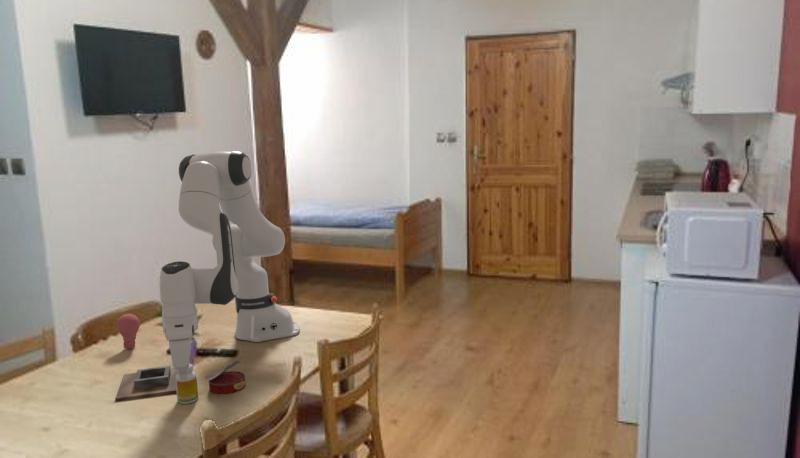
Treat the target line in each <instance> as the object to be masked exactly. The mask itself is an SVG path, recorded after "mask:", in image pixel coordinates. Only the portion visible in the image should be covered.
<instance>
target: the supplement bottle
mask: <svg viewBox="0 0 800 458" xmlns="http://www.w3.org/2000/svg"><path fill="white" fill-rule="evenodd" d="M177 371H178V369H177ZM198 388H199V387H198V379H197V373H196V371H194V365H193V364H192V363H189V367H188V368H187V380H186V381H180V375H179V371H178V374H177V375H176V390H177V393H176V397H177V398H176V399H177V403H179V404H183V405H186V404H187V405H188V404H192V403H195V402H197V400H199V391H198Z"/></svg>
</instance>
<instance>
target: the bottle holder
mask: <svg viewBox="0 0 800 458" xmlns="http://www.w3.org/2000/svg"><path fill="white" fill-rule="evenodd" d="M177 374H178V371H177V370H176V369H174V367H172V368H171V365H164V366H156V367H149V368H140V369H137V371H136V372H132V373H124V374H123V375H122V378H121V381H120V384H119V387H118V390H117V392H116V396H115V402H120V401H121V402H122V401H128V400H133V399H134V400H135V399H142V398H148V397H150V398H151V397H156V396H157V397H158V396H164V395H166V396H167V395H171V394H173V395H174V394H177V390H176V375H177Z"/></svg>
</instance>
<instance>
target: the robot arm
mask: <svg viewBox="0 0 800 458" xmlns="http://www.w3.org/2000/svg"><path fill="white" fill-rule="evenodd" d="M178 176H179V179H180V181H181V185H180V191H179V198H178V212H179V216H180V218H181V219H182V220H183V221H184V223H186V224H187V225H188V226H190V227H192V228H193V229H196V230H198V231H201V232H203V233H207V234H209V235H211V236H212V241H211V242H212V246H213V248H214V250H215V253H216V263H217V265H216V266H215V267H214V268H192V267H191V264H190V263H189V262H187V261H172V262H169V263H167V264H165V265H164V266H162V268H161V269H160V274H159V298H160V302H161V304H162V310H161V320H162V332H163V333H164V335H165V339H166V341H167V342H168V344H169V345H168V346H169V351H170V357H171V362H172V366H173V368H174V369H176V370H177V369H178V371H179V375H180V381H186V380H187V368H188V367H189V364H190V357H191V348H192V339H193V337H194V335H195V332H196V331H197V330H198V329H199V322H198V310H197V307H196V306H197V305H199V304H200V305H201V304H202V305H203V304H206V305H207V304H212V305H219V306H220V305H223V306H225V305H227V304H229V303H231V302H232V301H233V300H234V303H235V312H236V327H235V332H234V337H235V338H236V339H237V340H242V341H250V342H253V343H259V342H261V343H262V342H266V341H270V340H276V339H282V338H288V337H293V336H296V335H299V334H300V331H301V330H300V329H301V327H300V326H299V324H298V323H296V322H294V320H293V317H292V315H291V313H290V311H289V310H288V309H286V308H284V307H282V306H281V305H279V304H277V302H278V298H277V296H276V295H275V294H274V293H272V292H271V293H270V291H269V279H268V278H269V275H268V273H267V271H266V269H265V268H264V267H262V266H260V265H259V264H258V263H256V261H255V260H254V258H253V257H258V258H259V257H260V258H262V257H263V258H266V257H272V256H277V255H279V254H281V252H283V250H284V248H285V245H286V236H285V234H284V231H283V230H282V228H281V227H279V226H277V225H275V224H274V223H272V222H271V221H269V220H268V219H267V218H266V217H265V216H264V214H263V213H262V212H261V211H260V209H259V207H258V205H257V202H256V199H255V196H254V193H253V191H252V187H251V184H250V181H249V180H250V179H251V177H252V163H251V160H250V158H249V157H248V155H246V153H244V152H242V151H238V150H233V151H232V150H231V151H212V152H205V153H200V154H190V155H187V156H184V157H183V159H182V160H181V161H180V163H179V165H178ZM230 223H233V224H230ZM196 304H197V305H196Z"/></svg>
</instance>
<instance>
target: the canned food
mask: <svg viewBox="0 0 800 458" xmlns="http://www.w3.org/2000/svg"><path fill="white" fill-rule="evenodd" d="M240 363H241V360H237V361H234V362H233V363H232V364H230V365H228V366H227V367H225V368H224V369H223V370H222V371H220V372H218V373H215V374H213V375H212V376H210V377H209V378H208V385H209V393H211V394H213V395H219V396H220V395H224V396H225V395H230V394H231V395H232V394H236V393H239V392H241V391H242V390H243V389H245V388H246V376H245V375H246V374H245V373H243V372H241V371H236V370H235V371H234V370H233V371H232V370H231V371H229V370H230V369H231V368H233V367H235V366H236V365H238V364H240Z"/></svg>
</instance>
